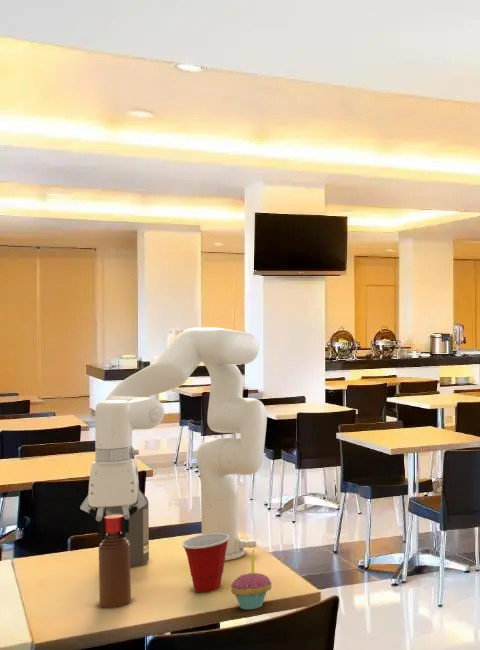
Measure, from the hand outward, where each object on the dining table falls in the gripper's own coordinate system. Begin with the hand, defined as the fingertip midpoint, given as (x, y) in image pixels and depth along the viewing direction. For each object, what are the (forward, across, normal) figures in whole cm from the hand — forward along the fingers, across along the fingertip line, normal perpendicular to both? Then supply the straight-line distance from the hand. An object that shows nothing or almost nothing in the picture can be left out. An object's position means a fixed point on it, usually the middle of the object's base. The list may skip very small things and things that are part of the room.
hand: (113, 536), depth 196 cm
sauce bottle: (+15, 0, 0) cm, 15 cm away
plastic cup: (+15, -20, -4) cm, 25 cm away
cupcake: (+15, -30, +12) cm, 35 cm away
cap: (-1, 0, 0) cm, 1 cm away
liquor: (+15, +1, -34) cm, 37 cm away
